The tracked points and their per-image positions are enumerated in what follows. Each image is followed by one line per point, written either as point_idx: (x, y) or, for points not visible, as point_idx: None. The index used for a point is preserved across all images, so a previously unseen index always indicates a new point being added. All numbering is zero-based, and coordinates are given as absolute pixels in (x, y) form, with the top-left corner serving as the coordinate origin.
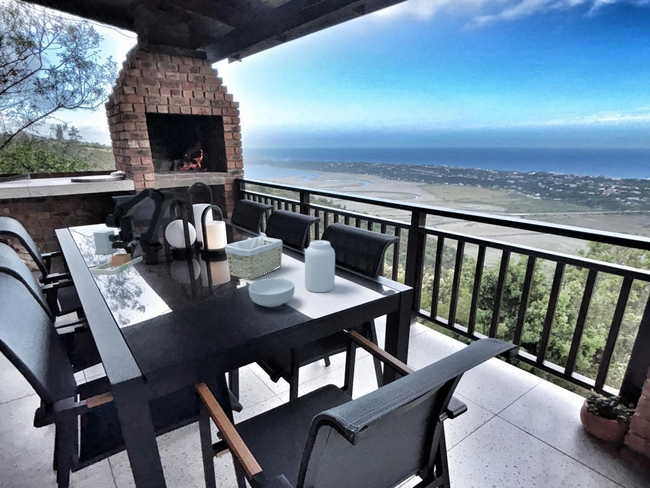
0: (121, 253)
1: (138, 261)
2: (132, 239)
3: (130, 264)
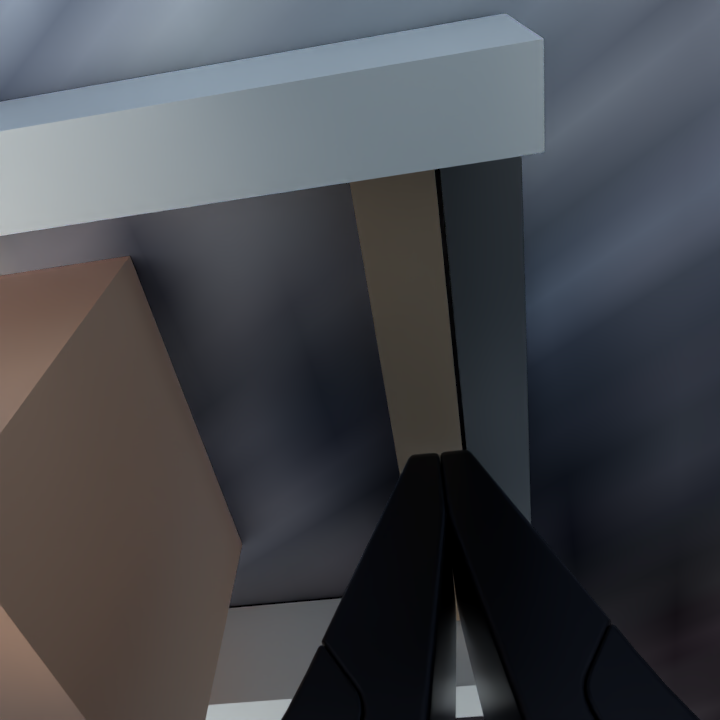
0: (13, 622)
1: None
2: None
3: None
